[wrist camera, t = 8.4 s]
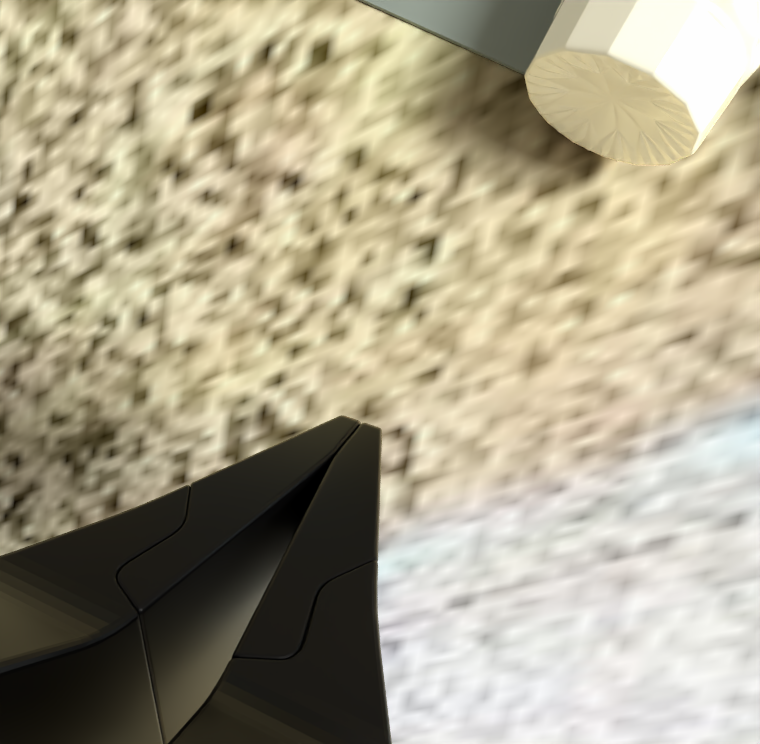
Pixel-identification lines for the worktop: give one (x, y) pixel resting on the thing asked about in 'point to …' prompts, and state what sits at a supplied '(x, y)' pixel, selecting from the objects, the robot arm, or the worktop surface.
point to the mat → (481, 25)
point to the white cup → (643, 73)
